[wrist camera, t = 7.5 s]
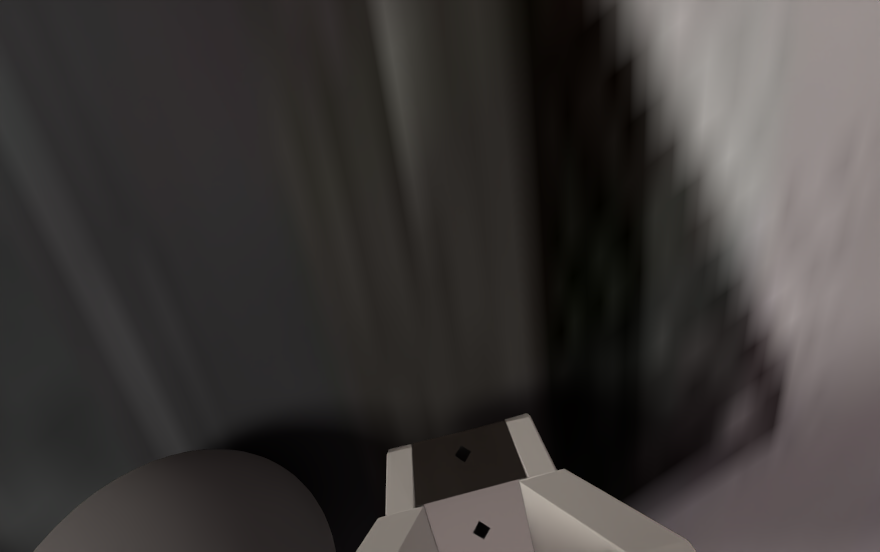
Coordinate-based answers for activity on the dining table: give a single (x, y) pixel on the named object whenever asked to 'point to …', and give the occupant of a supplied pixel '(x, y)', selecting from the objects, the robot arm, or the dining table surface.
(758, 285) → the dining table surface
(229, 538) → the gray ball
